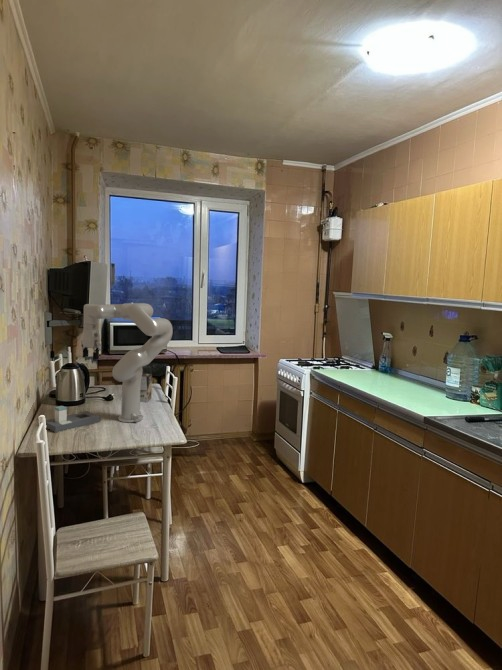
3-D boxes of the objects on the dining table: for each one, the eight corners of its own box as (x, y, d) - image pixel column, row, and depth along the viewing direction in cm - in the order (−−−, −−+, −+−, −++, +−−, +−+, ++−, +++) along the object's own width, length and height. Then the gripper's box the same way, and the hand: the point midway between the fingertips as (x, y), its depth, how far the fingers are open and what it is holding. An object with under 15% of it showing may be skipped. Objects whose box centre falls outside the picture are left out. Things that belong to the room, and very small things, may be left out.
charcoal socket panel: (99, 421, 230) (99, 415, 229) (55, 432, 210) (55, 425, 210) (86, 416, 237) (86, 410, 236) (42, 426, 218) (42, 420, 217)
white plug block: (66, 427, 219) (66, 407, 218) (58, 428, 216) (59, 408, 215) (62, 425, 222) (62, 405, 220) (54, 426, 218) (54, 407, 217)
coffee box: (147, 402, 271) (148, 376, 269) (137, 401, 271) (138, 375, 269) (151, 398, 280) (152, 373, 278) (141, 397, 280) (142, 373, 278)
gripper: (106, 328, 238) (106, 359, 239) (87, 325, 248) (87, 355, 250) (94, 328, 232) (93, 361, 233) (75, 325, 242) (75, 356, 244)
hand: (90, 358), depth 242 cm, fingers open, 9 cm apart
